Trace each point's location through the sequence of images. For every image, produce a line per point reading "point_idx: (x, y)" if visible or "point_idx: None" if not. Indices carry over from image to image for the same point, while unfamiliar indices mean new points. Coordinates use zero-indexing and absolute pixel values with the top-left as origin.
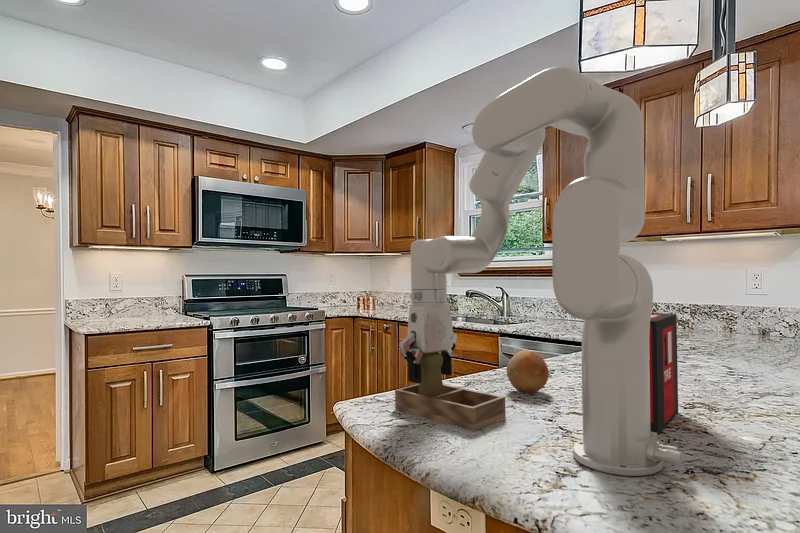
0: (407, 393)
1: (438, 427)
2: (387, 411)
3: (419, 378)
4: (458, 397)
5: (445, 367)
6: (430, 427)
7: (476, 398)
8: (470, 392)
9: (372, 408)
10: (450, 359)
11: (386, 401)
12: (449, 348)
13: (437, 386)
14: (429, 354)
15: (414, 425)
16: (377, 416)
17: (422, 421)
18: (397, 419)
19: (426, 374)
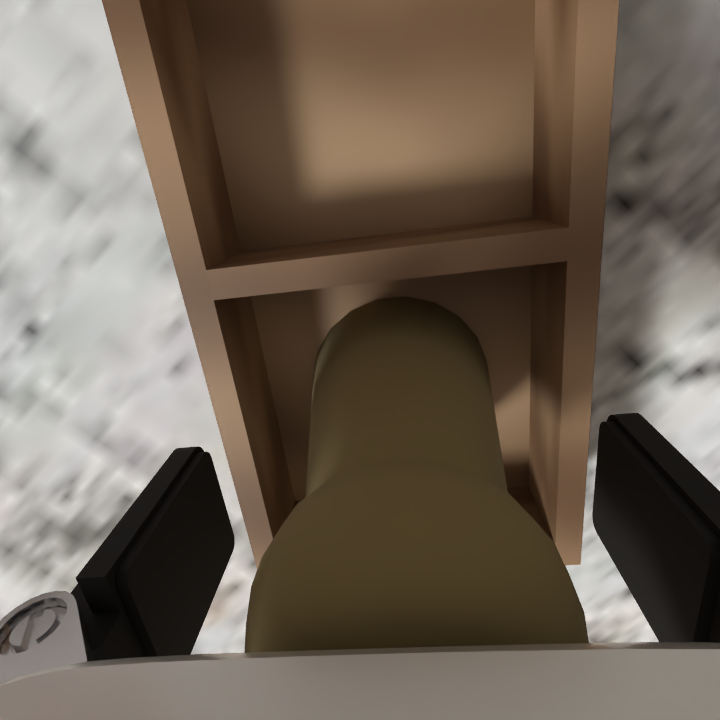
0: (584, 465)
1: (639, 70)
2: (588, 486)
3: (656, 432)
4: (280, 253)
5: (194, 525)
6: (671, 108)
7: (191, 129)
8: (191, 193)
9: (599, 561)
10: (112, 551)
11: None
12: (78, 663)
13: (420, 363)
14: None
15: (699, 210)
16: (690, 459)
17: (605, 237)
18: (667, 358)
19: (501, 482)
